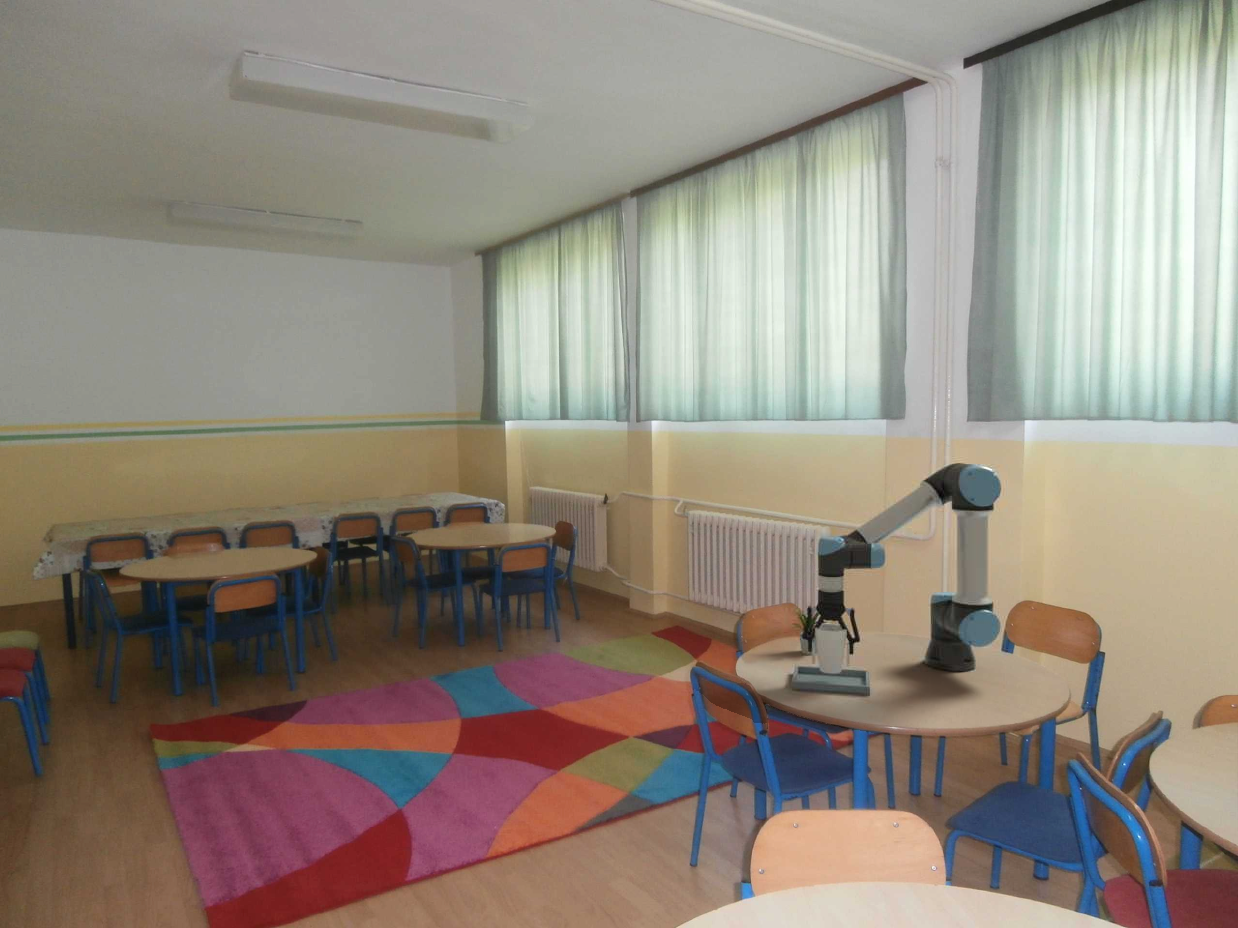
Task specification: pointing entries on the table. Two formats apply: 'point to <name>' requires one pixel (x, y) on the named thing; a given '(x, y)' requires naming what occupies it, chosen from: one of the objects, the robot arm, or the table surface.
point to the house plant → (803, 641)
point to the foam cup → (830, 647)
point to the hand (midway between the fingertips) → (830, 663)
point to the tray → (831, 681)
